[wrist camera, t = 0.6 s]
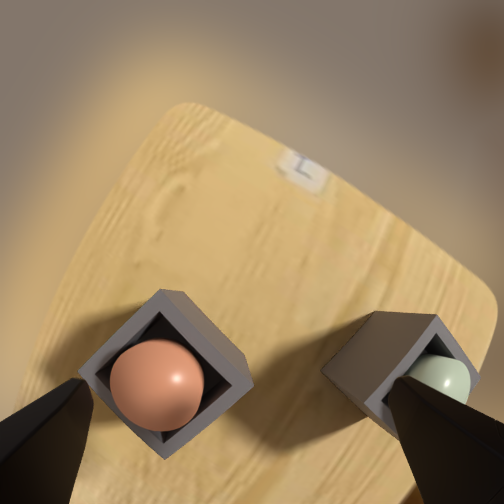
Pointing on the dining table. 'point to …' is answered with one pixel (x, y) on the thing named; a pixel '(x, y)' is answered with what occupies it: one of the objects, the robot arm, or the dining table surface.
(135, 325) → the grey square housing
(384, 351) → the grey square socket
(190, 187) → the dining table surface
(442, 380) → the sage button
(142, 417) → the terracotta button
